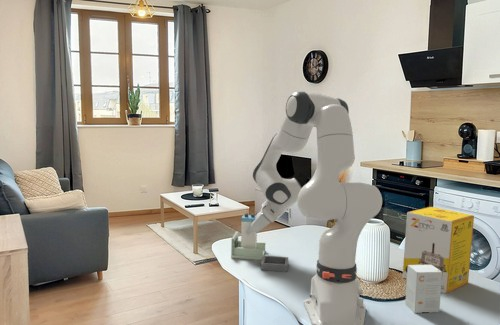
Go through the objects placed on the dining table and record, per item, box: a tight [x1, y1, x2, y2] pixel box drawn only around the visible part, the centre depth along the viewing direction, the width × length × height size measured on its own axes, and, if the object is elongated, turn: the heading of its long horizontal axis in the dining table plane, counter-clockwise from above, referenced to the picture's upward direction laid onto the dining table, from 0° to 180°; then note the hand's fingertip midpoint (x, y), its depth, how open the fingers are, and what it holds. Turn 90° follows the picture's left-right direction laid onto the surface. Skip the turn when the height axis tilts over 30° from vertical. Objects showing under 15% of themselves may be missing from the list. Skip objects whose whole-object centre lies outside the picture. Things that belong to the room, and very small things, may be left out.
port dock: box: [230, 230, 266, 261], centre depth 171 cm, size 12×13×8 cm
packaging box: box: [402, 206, 475, 294], centre depth 147 cm, size 16×16×25 cm
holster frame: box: [260, 255, 289, 273], centre depth 158 cm, size 9×10×2 cm
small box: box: [404, 265, 442, 314], centre depth 126 cm, size 8×6×13 cm
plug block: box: [240, 213, 258, 249], centre depth 171 cm, size 5×6×15 cm
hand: (247, 231), depth 171 cm, fingers closed on plug block, 5 cm apart
